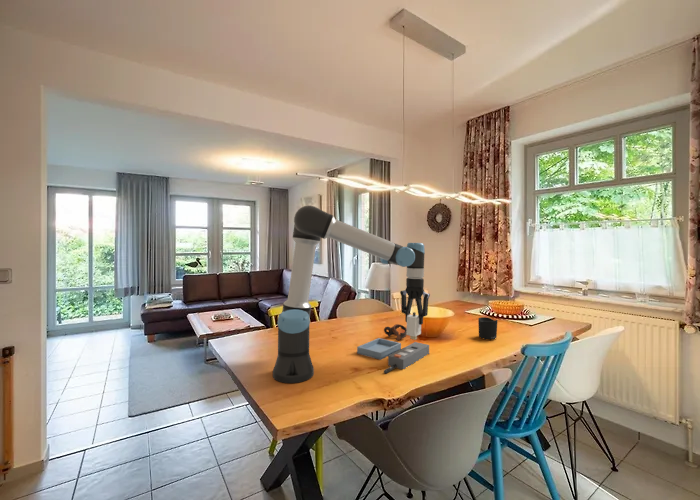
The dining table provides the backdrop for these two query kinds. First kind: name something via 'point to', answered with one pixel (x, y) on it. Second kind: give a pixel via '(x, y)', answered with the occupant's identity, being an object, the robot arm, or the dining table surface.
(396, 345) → the tray
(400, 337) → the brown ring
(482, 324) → the pen holder
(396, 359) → the power strip
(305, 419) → the dining table surface
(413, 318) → the charger
